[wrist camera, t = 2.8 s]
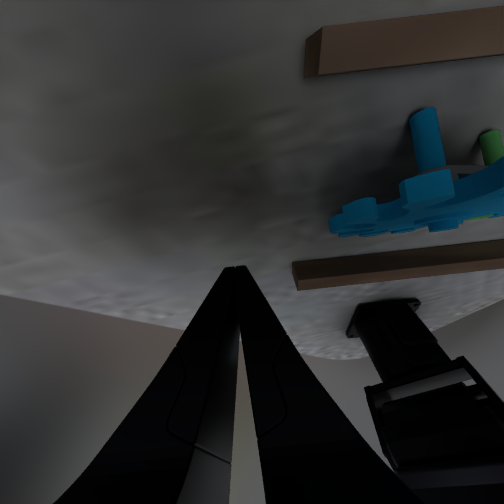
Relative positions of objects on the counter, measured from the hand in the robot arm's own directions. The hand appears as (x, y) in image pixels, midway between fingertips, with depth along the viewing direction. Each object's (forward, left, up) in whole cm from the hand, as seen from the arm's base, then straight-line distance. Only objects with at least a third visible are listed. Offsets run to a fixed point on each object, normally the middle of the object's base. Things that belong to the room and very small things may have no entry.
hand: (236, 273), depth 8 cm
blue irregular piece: (0, -10, -6) cm, 12 cm away
